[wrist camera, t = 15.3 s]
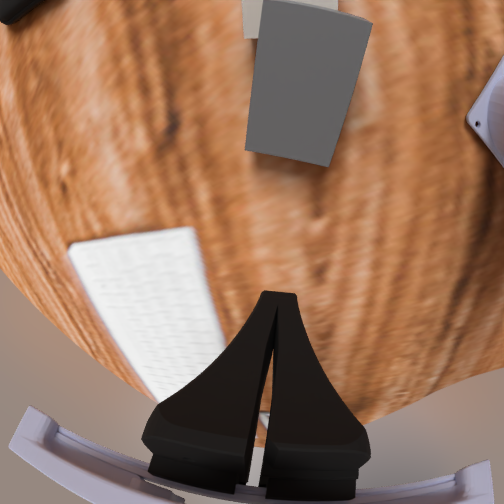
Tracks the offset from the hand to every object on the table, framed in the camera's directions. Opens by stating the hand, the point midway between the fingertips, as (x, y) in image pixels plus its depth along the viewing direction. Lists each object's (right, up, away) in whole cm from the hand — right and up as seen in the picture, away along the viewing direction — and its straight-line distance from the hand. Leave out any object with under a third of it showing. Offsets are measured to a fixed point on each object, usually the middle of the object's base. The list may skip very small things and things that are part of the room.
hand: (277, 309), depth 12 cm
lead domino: (+1, +9, +5) cm, 10 cm away
